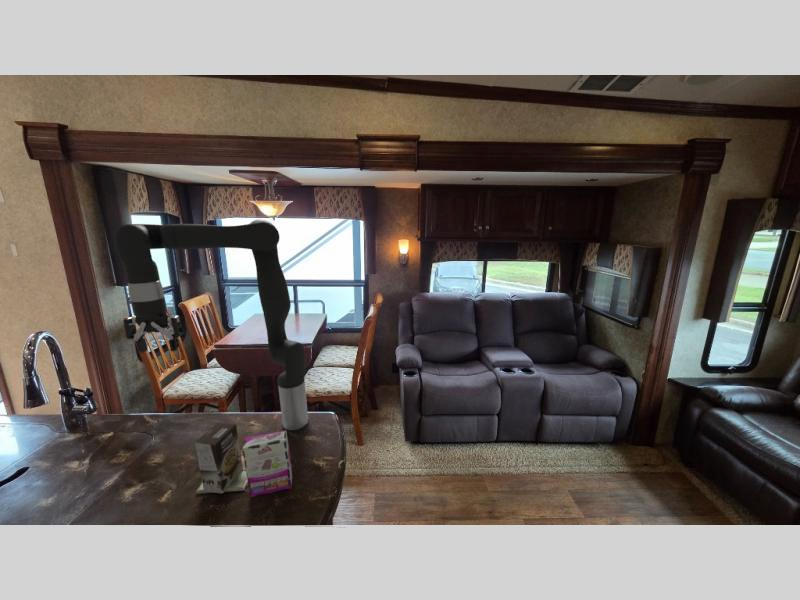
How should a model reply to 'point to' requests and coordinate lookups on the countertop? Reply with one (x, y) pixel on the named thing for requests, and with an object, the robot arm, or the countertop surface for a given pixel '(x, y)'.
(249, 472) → the candy bar box
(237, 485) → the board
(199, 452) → the coffee box
